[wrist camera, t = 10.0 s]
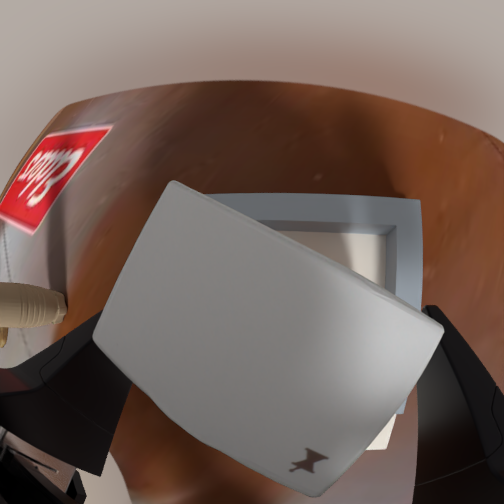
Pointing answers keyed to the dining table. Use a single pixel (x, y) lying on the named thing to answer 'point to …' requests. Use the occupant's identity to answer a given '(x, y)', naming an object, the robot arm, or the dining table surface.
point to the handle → (29, 306)
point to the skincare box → (261, 341)
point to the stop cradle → (349, 239)
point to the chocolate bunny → (3, 336)
